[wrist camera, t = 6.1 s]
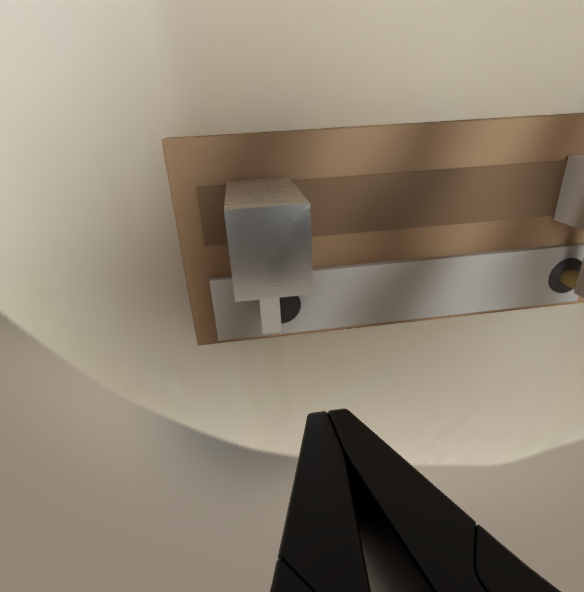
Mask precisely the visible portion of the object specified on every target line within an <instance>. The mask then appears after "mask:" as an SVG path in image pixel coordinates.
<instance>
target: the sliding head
mask: <svg viewBox="0 0 584 592" xmlns="http://www.w3.org/2000/svg"><path fill="white" fill-rule="evenodd" d="M224 216H225V224H226V232H227V240H228V248H229V256H230V264H231V272H232V281H233V289H234V297H235V302H241V301H251V300H259V303H260V315H261V324H262V333H263V334H267V333H276V332H282V328H281V314H280V300H279V298H280V297H290V296H300V295H310V294H313V274H312V241H311V208H310V202H309V201H308V200H307V199H306V198H305V196H304V195H303V194H302V193H301V192H300V190H299V189H298V188H297V187H296V186H295V184H294V183H293V182H292V181H291V180H290V178H289V177H281V178H267V179H253V180H239V181H227V184H226V194H225V204H224Z"/></svg>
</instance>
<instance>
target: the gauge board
mask: <svg viewBox="0 0 584 592" xmlns="http://www.w3.org/2000/svg"><path fill="white" fill-rule="evenodd" d="M162 145H163V150H164V156H165V162H166V167H167V173H168V179H169V184H170V190H171V196H172V201H173V207H174V213H175V218H176V224H177V230H178V235H179V241H180V247H181V252H182V258H183V264H184V269H185V275H186V281H187V286H188V292H189V298H190V303H191V309H192V315H193V320H194V326H195V332H196V337H197V343H198V345H206V344H215V343H224V342H233V341H242V340H251V339H260V338H269V337H278V336H287V335H296V334H305V333H314V332H322V331H331V330H340V329H349V328H358V327H367V326H376V325H385V324H394V323H403V322H412V321H421V320H430V319H439V318H448V317H457V316H466V315H475V314H484V313H493V312H502V311H511V310H520V309H529V308H538V307H547V306H556V305H565V304H574V303H583V302H584V113H574V114H557V115H541V116H524V117H507V118H491V119H474V120H458V121H441V122H425V123H408V124H392V125H375V126H358V127H342V128H325V129H309V130H292V131H276V132H259V133H243V134H226V135H210V136H193V137H176V138H166V139H163V140H162ZM281 177H289V178H290V180H291V181H292V182H293V183H294V184H295V186H296V187H297V188H298V189H299V190H300V192H301V193H302V194H303V195H304V196H305V198H306V199H307V200H308V201H309V202H310V208H311V241H312V274H313V294H310V295H300V296H290V297H280V298H279V300H280V314H281V328H282V332H276V333H267V334H263V333H262V324H261V315H260V303H259V300H251V301H241V302H235V297H234V289H233V281H232V272H231V264H230V256H229V248H228V240H227V232H226V224H225V216H224V204H225V194H226V184H227V181H239V180H253V179H267V178H281Z"/></svg>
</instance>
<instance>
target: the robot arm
mask: <svg viewBox="0 0 584 592" xmlns="http://www.w3.org/2000/svg"><path fill="white" fill-rule="evenodd" d="M270 592H561V591H559V590H558V589H557V588H556V587H554V586H553V585H552V584H550V583H549V582H548V581H547V580H545V579H544V578H543V577H541V576H540V575H539V574H537V573H536V572H535V571H534V570H532V569H531V568H530V567H528V566H527V565H526V564H525V563H523V562H522V561H521V560H520V559H519V558H518V557H517V556H515V555H514V554H513V553H512V552H511V551H509V550H508V549H507V548H506V547H505V546H503V545H502V544H501V543H500V542H499V541H497V540H496V539H495V538H494V537H493V536H492V535H491V534H489V533H488V532H487V531H486V530H485V529H484V528H483V527H481V526H480V525H476V522H475V521H474V520H473V519H472V518H471V517H470V516H469V515H467V514H466V513H465V512H464V511H463V510H462V509H461V508H460V507H458V506H457V505H456V504H455V503H454V502H452V501H451V500H450V499H449V498H448V497H447V496H445V494H443V493H442V492H441V491H440V490H439V489H438V488H436V487H435V486H434V485H433V484H432V483H431V482H430V481H429V480H428V479H426V478H425V477H424V476H423V475H422V474H421V473H420V472H418V471H417V470H416V469H415V468H414V467H413V466H412V465H410V464H409V463H408V462H407V461H406V460H405V459H404V458H402V457H401V456H400V455H399V454H398V453H397V452H396V451H394V450H393V449H392V448H391V447H390V446H389V445H388V444H386V443H385V442H384V441H383V440H382V439H381V438H380V437H378V436H377V435H376V434H375V433H374V432H373V431H372V430H370V429H369V428H368V427H367V426H366V425H365V424H364V423H362V422H361V421H360V420H359V419H358V418H357V417H356V416H354V415H353V414H352V413H351V412H350V411H349V410H347V409H337V410H330V411H329V412H328V413H327V412H325V411H322V412H315V413H310V414H308V416H307V421H306V425H305V430H304V435H303V440H302V444H301V449H300V454H299V459H298V463H297V469H296V473H295V478H294V483H293V487H292V492H291V497H290V502H289V507H288V511H287V516H286V521H285V525H284V530H283V536H282V540H281V545H280V549H279V555H278V560H277V562H276V567H275V572H274V577H273V582H272V586H271V590H270Z"/></svg>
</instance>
